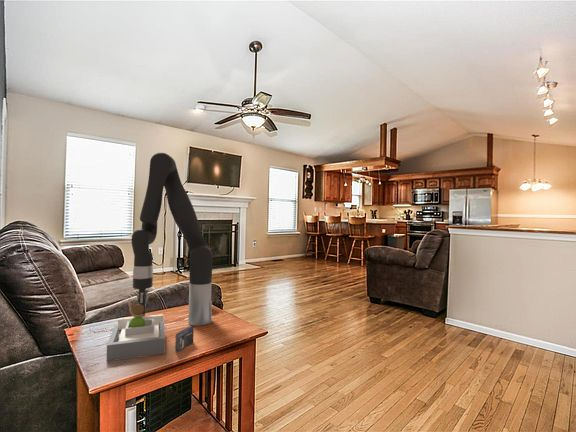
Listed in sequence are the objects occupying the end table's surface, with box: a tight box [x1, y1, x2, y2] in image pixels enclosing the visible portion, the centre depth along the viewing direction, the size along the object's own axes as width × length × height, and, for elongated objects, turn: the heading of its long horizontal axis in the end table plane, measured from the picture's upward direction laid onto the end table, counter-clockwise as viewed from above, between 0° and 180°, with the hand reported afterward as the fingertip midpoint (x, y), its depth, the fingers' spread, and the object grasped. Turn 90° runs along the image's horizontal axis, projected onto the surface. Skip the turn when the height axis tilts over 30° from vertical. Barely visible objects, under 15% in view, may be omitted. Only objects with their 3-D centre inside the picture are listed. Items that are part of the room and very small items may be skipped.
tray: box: [117, 313, 164, 342], centre depth 118 cm, size 17×17×4 cm
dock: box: [106, 320, 166, 362], centre depth 108 cm, size 17×18×5 cm
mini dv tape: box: [174, 325, 195, 353], centre depth 108 cm, size 8×2×6 cm, turn 163°
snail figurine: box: [127, 298, 145, 328], centre depth 119 cm, size 5×6×12 cm
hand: (141, 317), depth 129 cm, fingers closed
